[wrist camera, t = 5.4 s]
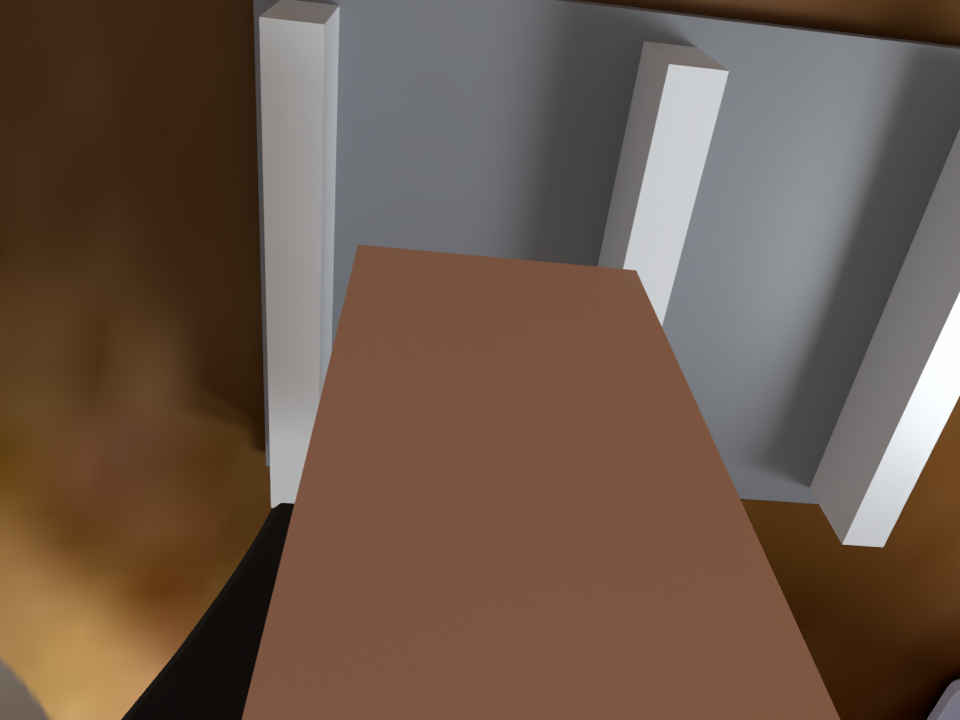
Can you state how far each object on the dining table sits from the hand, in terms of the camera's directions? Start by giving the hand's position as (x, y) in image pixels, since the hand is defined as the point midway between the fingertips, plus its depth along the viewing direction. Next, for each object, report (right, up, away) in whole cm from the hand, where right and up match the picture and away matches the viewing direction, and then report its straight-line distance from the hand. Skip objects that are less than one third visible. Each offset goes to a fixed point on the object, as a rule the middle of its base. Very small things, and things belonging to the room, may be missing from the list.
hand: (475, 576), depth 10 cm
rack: (+3, +4, +8) cm, 9 cm away
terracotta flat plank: (0, +1, +2) cm, 2 cm away
